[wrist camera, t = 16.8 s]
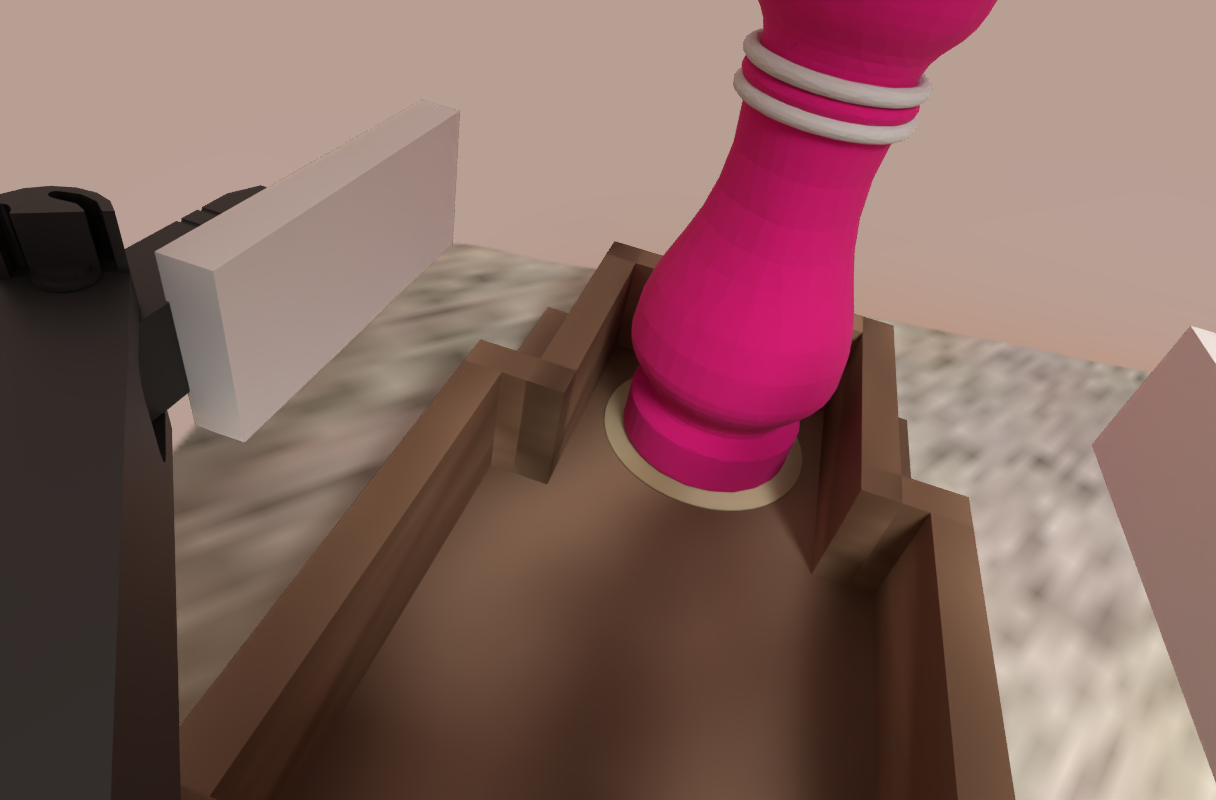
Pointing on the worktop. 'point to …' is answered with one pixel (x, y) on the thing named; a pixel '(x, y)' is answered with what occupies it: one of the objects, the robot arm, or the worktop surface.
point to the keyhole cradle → (619, 608)
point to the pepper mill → (779, 237)
